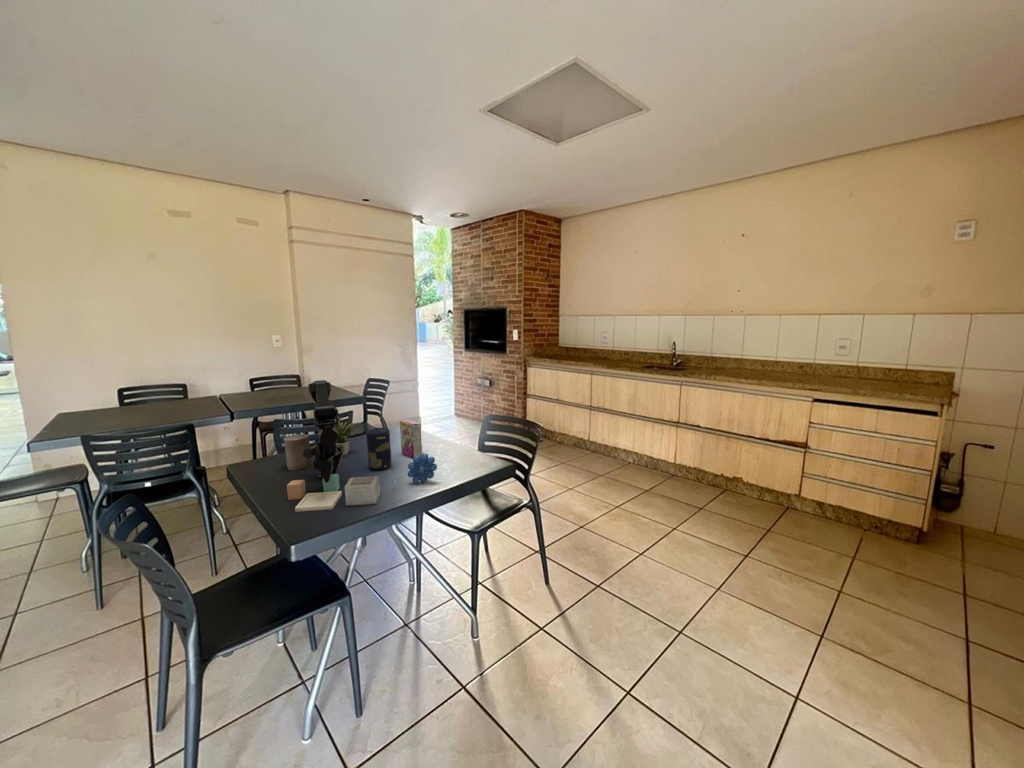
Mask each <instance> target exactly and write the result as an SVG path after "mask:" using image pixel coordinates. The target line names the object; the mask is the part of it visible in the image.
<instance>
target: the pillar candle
mask: <svg viewBox="0 0 1024 768" xmlns="http://www.w3.org/2000/svg"><path fill="white" fill-rule="evenodd" d="M309 440H310V438H309V435H308V434H306V433H298V434H291V435H288V436H286V437H284V438H283V443H284V449H285V451H284V452H285V460H286V467H287V470H288V471H300V470H304V469H308V468H310V467H312V463H313V462H312V457H311V458H309V459H306V458H305V457H303V450H304V449H307V448H308V447H311V446H310V441H309Z"/></svg>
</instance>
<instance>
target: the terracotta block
mask: <svg viewBox="0 0 1024 768" xmlns="http://www.w3.org/2000/svg"><path fill="white" fill-rule="evenodd" d="M286 492H287V499H288V500H289V501H291V500H302V499H303V498H304V497H305V495H306V494H307V491H306V482H305V479H295V480H291V481H290V482H289V483H287V485H286Z"/></svg>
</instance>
